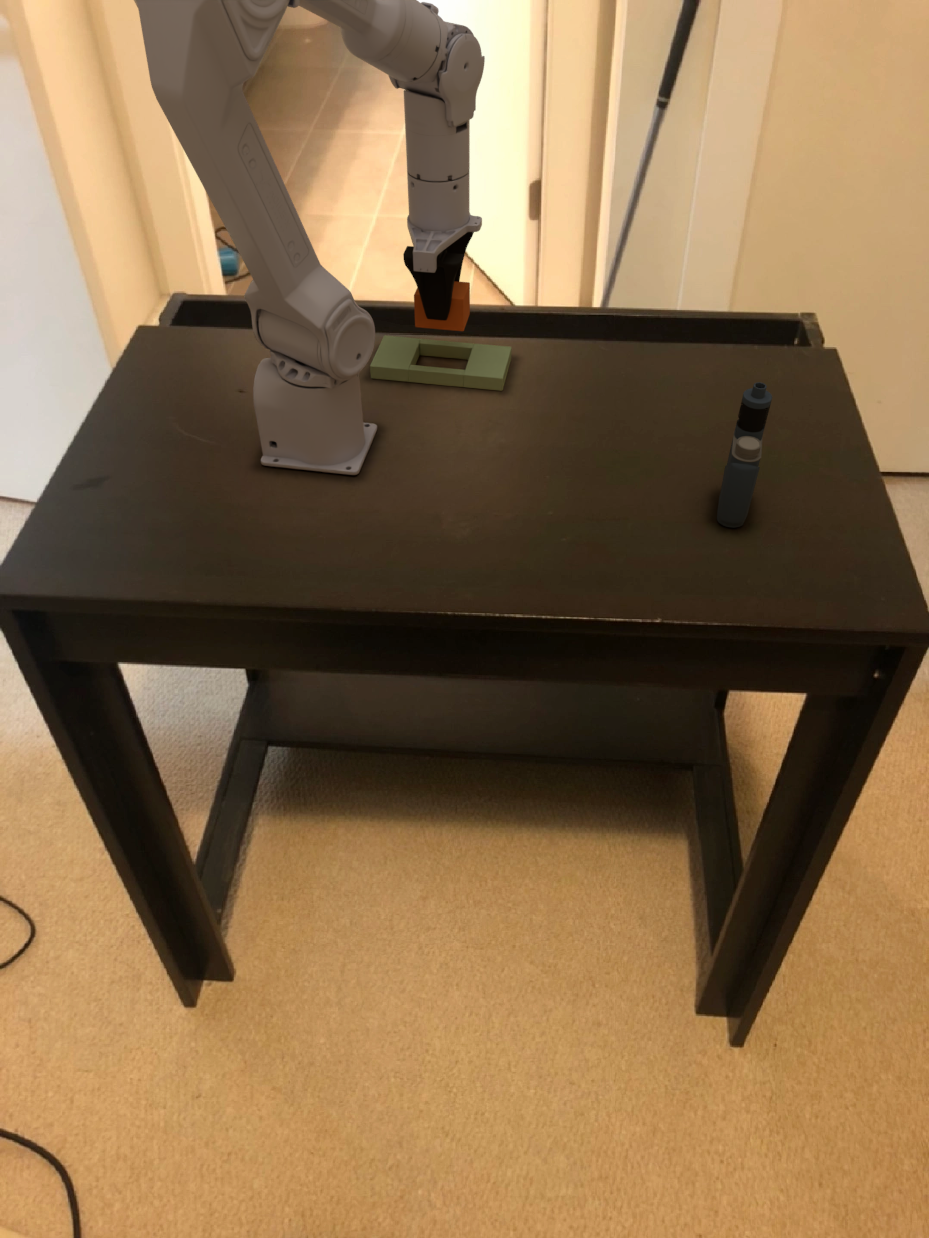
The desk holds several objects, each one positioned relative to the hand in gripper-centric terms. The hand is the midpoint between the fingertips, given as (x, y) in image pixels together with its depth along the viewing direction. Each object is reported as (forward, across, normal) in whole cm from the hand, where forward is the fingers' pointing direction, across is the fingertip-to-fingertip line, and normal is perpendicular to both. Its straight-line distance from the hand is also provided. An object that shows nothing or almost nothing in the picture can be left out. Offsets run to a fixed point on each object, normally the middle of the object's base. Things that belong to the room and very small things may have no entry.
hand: (441, 308), depth 99 cm
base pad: (+7, 0, 0) cm, 7 cm away
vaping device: (+7, -19, -30) cm, 36 cm away
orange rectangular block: (+1, 0, 0) cm, 1 cm away
